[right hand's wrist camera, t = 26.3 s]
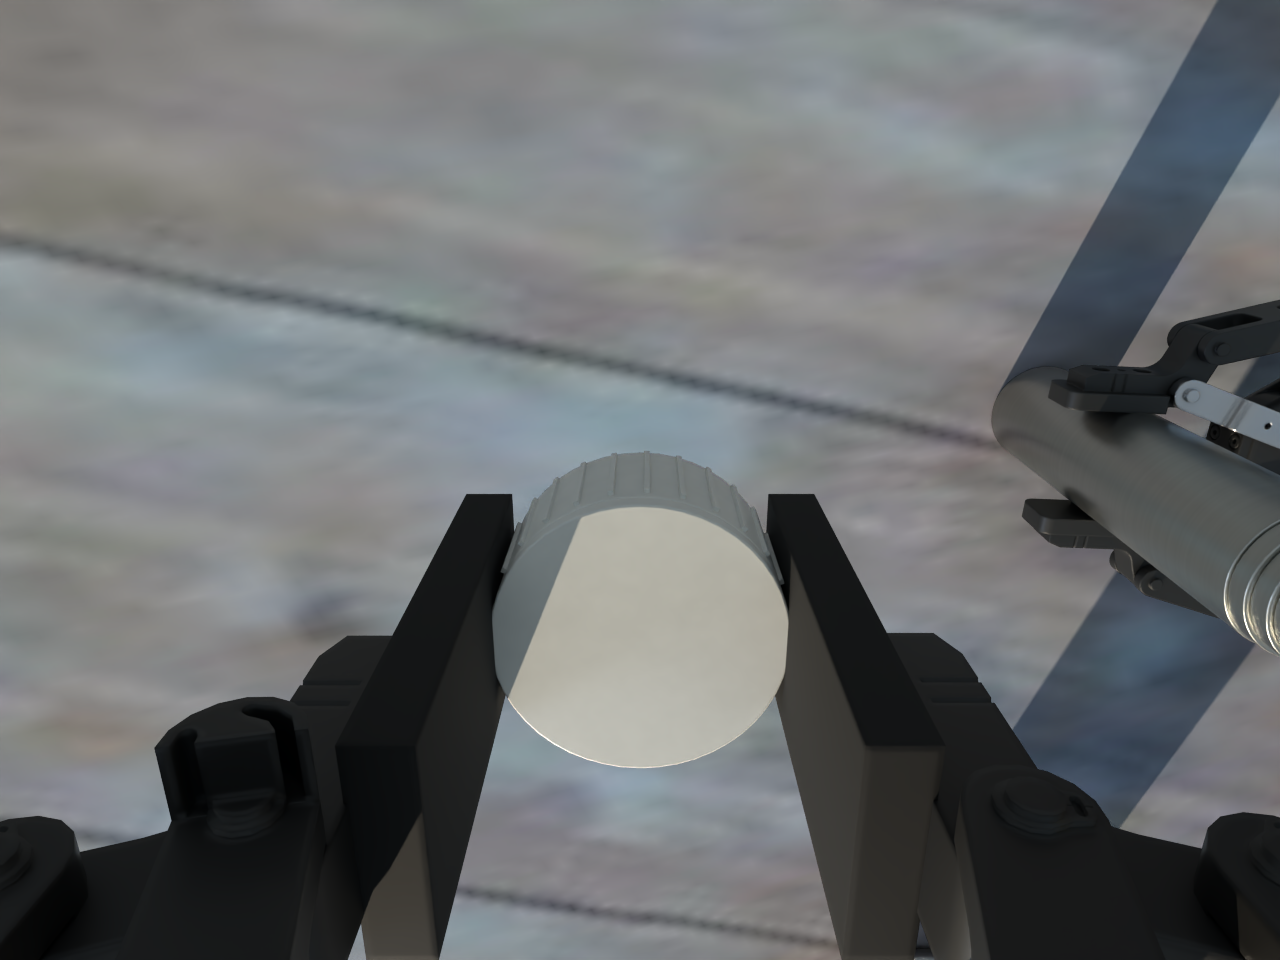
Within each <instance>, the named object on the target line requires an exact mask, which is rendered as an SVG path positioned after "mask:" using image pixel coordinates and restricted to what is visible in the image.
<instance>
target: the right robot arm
mask: <svg viewBox="0 0 1280 960" xmlns="http://www.w3.org/2000/svg"><path fill="white" fill-rule="evenodd" d="M766 533H768V535H769V538H770V541H771V544H772V547H773V550H774V553H775V556H776V559H777V562H778V565H779V568H780V571H781V574H782V577H783V580H784V584H782V585H781V588H782V591H783V594H784V597H785V601H786V604H787V607H788V611H789V621H788V637H787V652H786V666H785V674H784V678H783V680H782V682H781V684H780V686H779V689H778V691H777V693H776V695H775V697H776V701H777V705H778V709H779V713H780V717H781V721H782V725H783V729H784V733H785V737H786V741H787V745H788V749H789V753H790V757H791V760H792V764H793V768H794V772H795V776H796V780H797V784H798V788H799V792H800V796H801V800H802V804H803V808H804V812H805V816H806V820H807V824H808V828H809V832H810V836H811V840H812V844H813V848H814V852H815V856H816V860H817V864H818V868H819V871H820V875H821V879H822V883H823V887H824V891H825V895H826V899H827V903H828V907H829V911H830V915H831V919H832V923H833V927H834V931H835V935H836V939H837V943H838V947H839V951H840V955H841V959H842V960H914V957H915V950H916V943H917V937H918V930H919V923H920V921H921V924H922V927H923V929H924V932H925V935H926V938H927V940H928V943H929V946H930V948H931V951H932V954H933V957H934V960H1280V818H1279V817H1276V816H1272V815H1263V814H1254V813H1245V812H1242V813H1237V814H1231V815H1226V816H1221V817H1219V818H1218V819H1217V820H1216V821H1215V822H1214V823H1213V824H1212V825H1211V826H1210V827H1208V829H1207V833H1206V836H1205V840H1204V843H1203V847H1202V849H1201V848H1196V847H1192V846H1188V845H1183V844H1179V843H1174V842H1170V841H1165V840H1161V839H1156V838H1152V837H1147V836H1143V835H1138V834H1135V833H1132V832H1128V831H1125V830H1121V829H1118V828H1114V827H1112V826H1111V825H1110V822H1109V820H1108V818H1107V817H1106V815H1105V814H1104V813H1103V811H1102V810H1101V808H1100V807H1099V805H1098V804H1097V802H1096V801H1095V800H1094V799H1092V798H1091V797H1090V796H1089V795H1087V794H1086V793H1085V792H1084V791H1082V790H1081V789H1080V788H1078V787H1077V786H1076V785H1075V784H1073V783H1071V782H1069V781H1067V780H1064V779H1062V778H1060V777H1058V776H1056V775H1054V774H1052V773H1050V772H1047V771H1043V770H1039V769H1037V767H1036V766H1035V764H1034V763H1033V761H1032V759H1031V758H1030V756H1029V755H1028V753H1027V752H1026V750H1025V749H1024V747H1023V746H1022V744H1021V743H1020V741H1019V740H1018V738H1017V737H1016V735H1015V734H1014V732H1013V730H1012V729H1011V727H1010V726H1009V724H1008V723H1007V721H1006V720H1005V718H1004V717H1003V715H1002V714H1001V712H1000V711H999V709H998V708H997V706H996V704H995V703H991V697H990V695H989V694H988V692H987V691H986V689H985V688H984V686H983V685H982V683H978V677H977V675H976V674H975V672H974V671H973V669H972V668H971V666H970V665H969V663H968V662H967V660H966V659H965V657H964V656H963V654H962V653H961V652H959V651H958V650H956V649H955V648H954V647H952V646H951V645H949V644H948V643H947V642H945V641H944V640H942V639H941V638H940V637H938V636H937V635H935V634H934V633H887V632H886V631H885V629H884V627H883V625H882V623H881V621H880V619H879V617H878V615H877V613H876V611H875V609H874V608H873V606H872V604H871V602H870V600H869V598H868V596H867V594H866V592H865V590H864V588H863V587H862V585H861V583H860V581H859V579H858V577H857V575H856V573H855V571H854V569H853V567H852V566H851V564H850V562H849V560H848V558H847V556H846V554H845V552H844V550H843V548H842V546H841V545H840V543H839V541H838V539H837V537H836V535H835V533H834V531H833V529H832V527H831V525H830V524H829V522H828V520H827V518H826V516H825V514H824V512H823V510H822V508H821V506H820V504H819V502H818V501H817V499H816V497H815V495H814V494H768V512H767V530H766ZM513 535H514V520H513V502H512V494H466V496H465V498H464V500H463V502H462V504H461V506H460V507H459V509H458V511H457V513H456V515H455V517H454V519H453V521H452V523H451V525H450V527H449V528H448V530H447V532H446V534H445V536H444V538H443V540H442V542H441V544H440V546H439V548H438V549H437V551H436V553H435V555H434V557H433V559H432V561H431V563H430V565H429V567H428V569H427V571H426V572H425V574H424V576H423V578H422V580H421V582H420V584H419V586H418V588H417V590H416V592H415V593H414V595H413V597H412V599H411V601H410V603H409V605H408V607H407V609H406V611H405V613H404V614H403V616H402V618H401V620H400V622H399V624H398V626H397V628H396V630H395V632H394V634H393V635H392V636H347V637H345V638H344V639H342V640H341V641H340V642H338V643H337V644H335V645H334V646H333V647H331V648H330V649H328V650H327V651H326V652H324V653H323V654H322V655H320V656H319V657H318V658H317V660H316V662H315V663H314V665H313V666H312V668H311V669H310V671H309V672H308V674H307V675H306V677H305V678H304V680H303V685H300V686H299V688H298V689H297V691H296V692H295V694H294V695H293V697H292V698H291V700H290V701H287V700H283V699H279V698H276V697H246V698H241V699H237V700H232V701H227V702H223V703H218V704H216V705H214V706H211V707H209V708H206V709H204V710H202V711H199V712H197V713H194V714H192V715H190V716H189V717H187V718H186V719H184V720H183V721H181V722H180V723H178V724H177V725H176V726H174V727H173V728H171V729H170V730H168V732H167V733H166V734H165V735H164V737H163V738H162V739H161V740H160V742H159V743H158V744H157V745H156V747H155V753H156V757H157V761H158V765H159V770H160V774H161V778H162V782H163V786H164V791H165V795H166V799H167V803H168V808H169V812H170V816H171V820H172V821H171V824H170V826H169V829H168V831H165V832H162V833H158V834H155V835H151V836H148V837H145V838H141V839H136V840H132V841H127V842H123V843H118V844H114V845H109V846H105V847H101V848H96V849H92V850H87V851H83V852H80V851H79V848H78V844H77V841H76V837H75V834H74V831H73V830H71V829H70V828H69V827H68V826H67V825H66V824H65V823H64V822H63V821H62V820H58V819H52V818H47V817H42V816H33V817H24V818H15V819H8V820H5V821H1V822H0V960H348V957H349V954H350V952H351V949H352V946H353V944H354V941H355V938H356V935H357V933H358V930H359V927H360V924H361V926H362V933H363V940H364V946H365V953H366V960H439V957H440V953H441V949H442V945H443V941H444V937H445V933H446V929H447V925H448V921H449V917H450V913H451V909H452V905H453V901H454V897H455V894H456V890H457V886H458V882H459V878H460V874H461V870H462V866H463V862H464V858H465V854H466V850H467V846H468V842H469V838H470V834H471V830H472V826H473V822H474V818H475V814H476V810H477V806H478V802H479V798H480V794H481V790H482V786H483V782H484V779H485V775H486V771H487V767H488V763H489V759H490V755H491V751H492V747H493V743H494V739H495V735H496V731H497V727H498V723H499V719H500V715H501V711H502V707H503V703H504V699H505V693H504V691H503V689H502V687H501V685H500V682H499V680H498V678H497V675H496V669H495V655H494V640H493V625H492V608H493V605H494V602H495V599H496V596H497V592H498V589H499V586H500V584H501V581H502V578H503V575H504V573H502V572H501V569H502V566H503V563H504V560H505V558H506V555H507V552H508V549H509V546H510V543H511V540H512V538H513Z"/></svg>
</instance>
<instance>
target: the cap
mask: <svg viewBox="0 0 1280 960" xmlns="http://www.w3.org/2000/svg"><path fill="white" fill-rule="evenodd" d="M501 572H502V573H504V575H503V578H502V581H501V584H500V586H499V589H498V592H497V596H496V599H495V602H494V605H493V608H492V625H493V640H494V655H495V669H496V675H497V678H498V680H499V682H500V685H501V687H502V689H503V691H504V693H505V695H506V696H507V698H508V699H509V701H510V703H511V704H512V706H513V707H514V709H515V710H516V711H517V712H518V713H519V714H520V716H521V717H522V718H523V719H524V720H525V721H526V722H527V723H528V724H529V725H530V726H531V727H532V728H533V729H534V730H535V731H537V732H538V733H539V734H540V735H542V736H543V737H544V738H546V739H547V740H549V741H550V742H552V743H553V744H555V745H557V746H558V747H560V748H562V749H564V750H566V751H568V752H570V753H572V754H575V755H577V756H580V757H582V758H584V759H587V760H591V761H595V762H598V763H602V764H607V765H613V766H619V767H630V768H651V767H662V766H669V765H675V764H679V763H683V762H687V761H690V760H694V759H697V758H699V757H702V756H704V755H707V754H709V753H712V752H713V751H715V750H717V749H719V748H721V747H723V746H725V745H726V744H728V743H730V742H731V741H732V740H734V739H735V738H737V737H738V736H739V735H741V734H742V733H743V732H744V731H746V730H747V729H748V728H749V727H750V726H751V725H752V724H753V723H754V722H755V721H756V720H757V719H758V718H759V717H760V716H761V714H762V713H763V712H764V711H765V710H766V709H767V707H768V705H769V704H770V702H771V701H772V699H773V698H774V696H775V695H776V693H777V691H778V689H779V686H780V684H781V682H782V680H783V678H784V674H785V666H786V652H787V637H788V621H789V611H788V607H787V604H786V601H785V597H784V594H783V591H782V588H781V585H782V584H784V580H783V577H782V574H781V571H780V568H779V565H778V562H777V559H776V556H775V553H774V550H773V547H772V544H771V541H770V538H769V535H768V533H763V530H762V527H761V524H760V521H759V518H758V515H757V512H756V509H755V508H754V507H752V508H750V506H749V505H748V503H747V502H746V501H745V500H744V499H743V498H742V497H741V495H740V494H739V493H738V491H737V488H736V486H734V485H733V484H732V485H731V486H730V485H729V484H728V483H727V482H726V481H724V480H723V479H722V478H720V477H719V476H717V475H716V474H714V473H712V471H711V469H710V468H708V467H706V469H705V468H703V467H701V466H699V465H697V464H695V463H693V462H690V461H687V460H683V459H682V457H681V456H676V457H673V456H668V455H662V454H654V453H649V451H644V453H626V454H619V455H617V453H613V454H612V455H611V456H608V457H604V458H601V459H598V460H595V461H591V462H588V463H586V462H583V463H581V465H580V467H578V468H576V469H574V470H572V471H570V472H569V473H567V474H566V475H564V476H562V477H561V478H558V477H557V478H555V479H554V481H553V484H552V485H551V486H550V487H548V488H547V489H546V490H545V491H544V492H543V493H542V495H541V496H540V497H539V498H538V499H536V498H534V499H533V500H532V503H531V506H530V509H529V511H528V513H527V514H526V516H525V518H524V520H523V522H522V523H519V522H518V524H517V526H516V529H515V532H514V535H513V538H512V540H511V543H510V546H509V549H508V552H507V555H506V558H505V560H504V563H503V566H502V569H501Z"/></svg>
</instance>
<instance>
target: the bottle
mask: <svg viewBox="0 0 1280 960" xmlns="http://www.w3.org/2000/svg"><path fill="white" fill-rule="evenodd" d="M1068 373H1069V372H1068V371H1066V370H1064V369H1061V368H1056V367H1038V368H1034V369H1030V370H1028V371H1025V372H1023V373H1021V374H1019V375H1018V376H1016V377H1015V378H1014V379H1012V380H1011V381H1010V382H1009V383H1008V384H1007V385H1006V386H1005V387H1004V388H1003V389H1002V391H1001V392H1000V394H999V395H998V397H997V399H996V401H995V404H994V407H993V411H992V428H993V432H994V435H995V437H996V439H997V441H998V442H999V443H1000V445H1001V446H1002V447H1003V448H1004V449H1005V450H1007V451H1008V452H1009V453H1010V454H1012V455H1013V456H1014V457H1015V458H1017V459H1018V460H1019V461H1021V462H1022V463H1023V464H1024V465H1026V466H1027V467H1028V468H1029V469H1031V470H1032V471H1033V472H1035V473H1036V474H1037V475H1038V476H1040V477H1041V478H1042V479H1043V480H1045V481H1046V482H1047V483H1048V484H1050V485H1051V486H1052V487H1054V488H1055V489H1056V490H1057V491H1059V492H1060V493H1061V494H1062V495H1064V496H1065V497H1066V498H1068V499H1069V500H1070V501H1071V502H1073V503H1074V504H1075V505H1076V506H1078V507H1079V508H1080V509H1081V510H1083V511H1084V512H1085V513H1087V514H1088V515H1089V516H1090V517H1092V518H1093V519H1094V520H1095V521H1097V522H1098V523H1099V524H1101V525H1102V526H1103V527H1104V528H1106V529H1107V530H1108V531H1109V532H1111V533H1112V534H1113V535H1115V536H1116V537H1117V538H1118V539H1120V540H1121V541H1122V542H1123V543H1125V544H1126V545H1127V546H1128V547H1130V548H1131V549H1132V550H1134V551H1135V552H1136V553H1137V554H1139V555H1140V556H1141V557H1142V558H1144V559H1145V560H1146V561H1148V562H1149V563H1150V564H1151V565H1153V566H1154V567H1155V568H1156V569H1158V570H1159V571H1160V572H1162V573H1163V574H1164V575H1165V576H1167V577H1168V578H1169V579H1170V580H1172V581H1173V582H1174V583H1175V584H1177V585H1178V586H1179V587H1181V588H1182V589H1183V590H1184V591H1186V592H1187V593H1188V594H1189V595H1191V596H1192V597H1193V598H1195V599H1196V600H1197V601H1198V602H1200V603H1201V604H1202V605H1203V606H1205V607H1206V608H1207V609H1209V610H1210V611H1211V612H1212V613H1214V614H1215V615H1216V616H1217V617H1219V618H1220V619H1221V620H1222V621H1224V622H1225V623H1226V624H1228V625H1229V626H1230V627H1231V628H1233V629H1234V630H1235V631H1236V632H1238V633H1239V634H1240V635H1242V636H1243V637H1245V638H1246V639H1247V640H1249V641H1251V642H1253V643H1255V644H1257V645H1258V646H1260V647H1261V648H1263V649H1264V650H1266V651H1267V652H1269V653H1271V654H1273V655H1276V656H1279V657H1280V475H1278V474H1276V473H1274V472H1272V471H1270V470H1268V469H1266V468H1264V467H1261V466H1259V465H1257V464H1255V463H1253V462H1251V461H1249V460H1247V459H1245V458H1243V457H1241V456H1239V455H1237V454H1235V453H1233V452H1231V451H1229V450H1227V449H1225V448H1223V447H1221V446H1219V445H1217V444H1215V443H1213V442H1211V441H1209V440H1206V439H1204V438H1202V437H1200V436H1198V435H1196V434H1194V433H1192V432H1190V431H1188V430H1186V429H1184V428H1182V427H1180V426H1178V425H1176V424H1174V423H1172V422H1170V421H1168V420H1166V419H1164V418H1162V417H1160V416H1158V415H1156V414H1149V413H1124V412H1100V411H1079V410H1072V409H1068V408H1065V407H1063V406H1061V405H1059V404H1058V403H1056V402H1054V401H1052V400H1051V399H1049V398H1048V394H1049V390H1050V385H1051V380H1054V379H1064V380H1067V378H1068Z"/></svg>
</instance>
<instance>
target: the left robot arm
mask: <svg viewBox="0 0 1280 960" xmlns="http://www.w3.org/2000/svg"><path fill="white" fill-rule="evenodd" d="M1167 343H1168V346H1169V348H1168V349H1167V351H1166V352H1165V354H1164V355H1163V357H1162V358H1161V359H1160V360H1159V361H1158V362H1157V363H1155V364H1154V365H1151V366H1149V367H1119V366H1096V365H1081V366H1078V367H1075V368H1072V369H1069V373H1068V378H1067V380H1064V379H1054V380H1051V385H1050V390H1049V394H1048V398H1049V399H1051V400H1052V401H1054V402H1056V403H1058V404H1059V405H1061V406H1063V407H1065V408H1068V409H1072V410H1079V411H1100V412H1124V413H1149V414H1166V412H1167V408H1168V407H1176V408H1179V409H1181V410H1183V411H1186V412H1188V413H1191V414H1193V415H1196V416H1198V417H1201V418H1204V419H1206V420H1209V421H1211V423H1210V427H1209V430H1208V433H1207V437H1206V440H1209V441H1211V442H1213V443H1215V444H1217V445H1219V446H1221V447H1223V448H1225V449H1227V450H1229V451H1231V452H1233V453H1235V454H1237V455H1239V456H1241V457H1243V458H1245V459H1247V460H1249V461H1251V462H1253V463H1255V464H1257V465H1259V466H1261V467H1264V468H1266V469H1268V470H1270V471H1272V472H1274V473H1276V474H1278V475H1280V379H1278V380H1276V381H1274V382H1272V383H1271V384H1269V385H1267V386H1265V387H1263V388H1262V389H1260V390H1258V391H1256V392H1254V393H1253V394H1251V395H1249V396H1247V397H1245V398H1242V397H1239V396H1237V395H1234V394H1232V393H1229V392H1226V391H1224V390H1221V389H1219V388H1216V387H1214V386H1211V385H1209V384H1206V383H1207V381H1208V380H1209V378H1210V377H1211V375H1212V374H1213V372H1214V371H1215V369H1216V368H1217V366H1218V365H1224V364H1228V363H1233V362H1237V361H1242V360H1246V359H1251V358H1255V357H1259V356H1264V355H1268V354H1273V353H1277V352H1280V300H1277V301H1272V302H1268V303H1264V304H1259V305H1255V306H1250V307H1246V308H1242V309H1237V310H1233V311H1228V312H1224V313H1220V314H1215V315H1211V316H1206V317H1202V318H1198V319H1193V320H1189V321H1184V322H1181V323H1178V324H1176V325H1175V326H1174V327H1173V328H1172V329H1171V330H1170V332H1169V334H1168V337H1167ZM1022 517H1023V518H1024V519H1025V520H1026V521H1027V522H1028V523H1029V524H1030V525H1031V526H1032V527H1033V528H1034V529H1035V530H1036V531H1037V532H1038V533H1039V534H1040V535H1041V536H1043V537H1044V538H1045V539H1046V540H1047V541H1048V542H1049V543H1052V544H1054V545H1056V546H1058V547H1069V548H1073V547H1075V548H1096V549H1114V551H1113V552H1112V554H1111V555H1110V560H1109V561H1110V565H1111V566H1112V567H1113V568H1114V569H1115V570H1116V571H1117V572H1119V573H1120V574H1123V575H1124V576H1125V577H1126V578H1127V579H1129V580H1130V581H1131V582H1132V583H1133V584H1134V585H1135V586H1136V588H1137V589H1138V590H1140V591H1141V592H1142V593H1143V594H1145V595H1146V596H1149V597H1152V598H1156V599H1159V600H1162V601H1165V602H1168V603H1172V604H1175V605H1178V606H1181V607H1184V608H1188V609H1191V610H1194V611H1197V612H1200V613H1203V614H1207V615H1210V616H1213V617H1216V618H1219V617H1217V616H1216V615H1215V614H1214V613H1212V612H1211V611H1210V610H1209V609H1207V608H1206V607H1205V606H1203V605H1202V604H1201V603H1200V602H1198V601H1197V600H1196V599H1195V598H1193V597H1192V596H1191V595H1189V594H1188V593H1187V592H1186V591H1184V590H1183V589H1182V588H1181V587H1179V586H1178V585H1177V584H1175V583H1174V582H1173V581H1172V580H1170V579H1169V578H1168V577H1167V576H1165V575H1164V574H1163V573H1162V572H1160V571H1159V570H1158V569H1156V568H1155V567H1154V566H1153V565H1151V564H1150V563H1149V562H1148V561H1146V560H1145V559H1144V558H1142V557H1141V556H1140V555H1139V554H1137V553H1136V552H1135V551H1134V550H1132V549H1131V548H1130V547H1128V546H1127V545H1126V544H1125V543H1123V542H1122V541H1121V540H1120V539H1118V538H1117V537H1116V536H1115V535H1113V534H1112V533H1111V532H1109V531H1108V530H1107V529H1106V528H1104V527H1103V526H1102V525H1101V524H1099V523H1098V522H1097V521H1095V520H1094V519H1093V518H1092V517H1090V516H1089V515H1088V514H1087V513H1085V512H1084V511H1083V510H1081V509H1080V508H1079V507H1078V506H1076V505H1075V504H1074V503H1073V502H1071V501H1070V500H1053V499H1027V500H1025V504H1024V509H1023V514H1022ZM1219 619H1220V618H1219ZM914 960H934V957H933V954H932V951H931V949H916V950H915V957H914Z"/></svg>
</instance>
